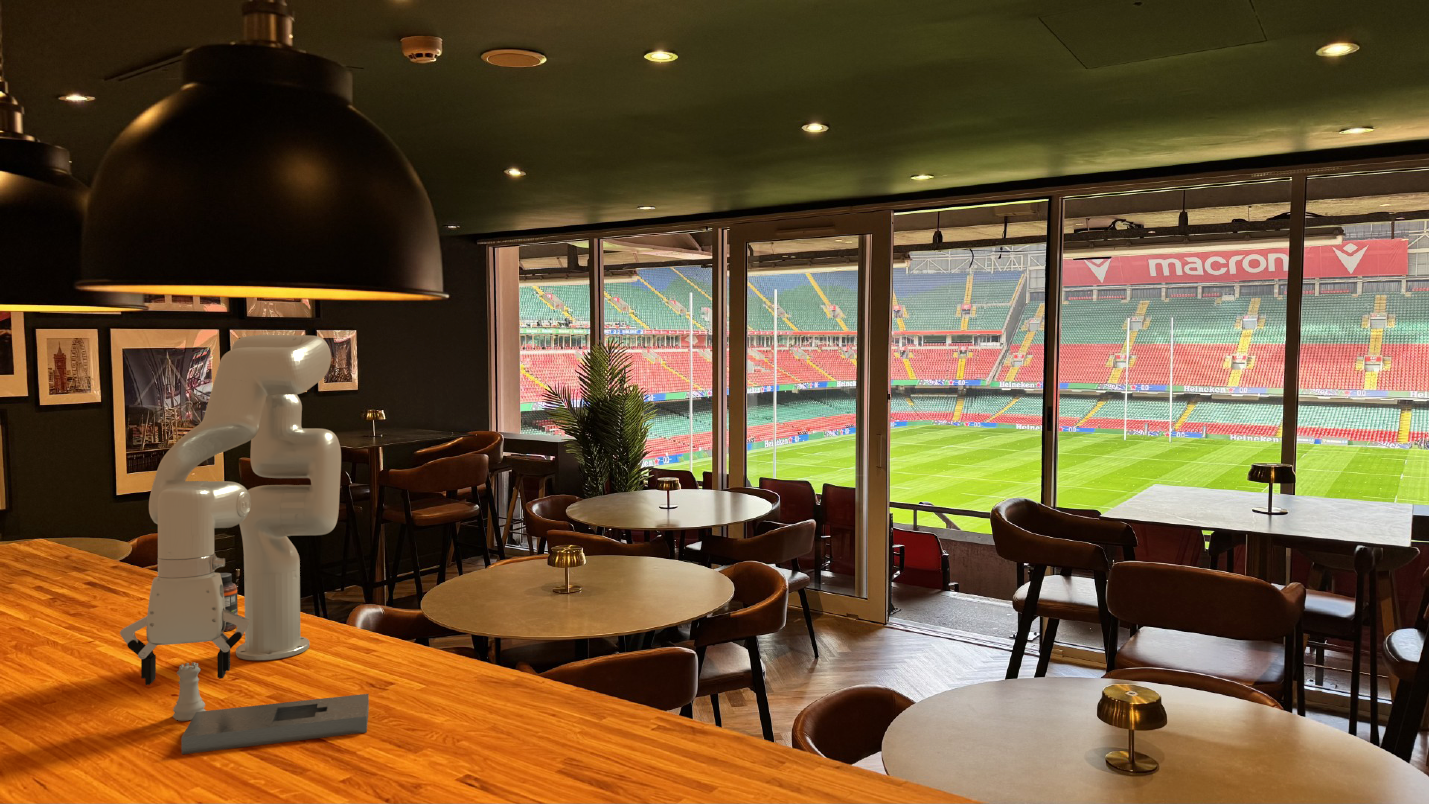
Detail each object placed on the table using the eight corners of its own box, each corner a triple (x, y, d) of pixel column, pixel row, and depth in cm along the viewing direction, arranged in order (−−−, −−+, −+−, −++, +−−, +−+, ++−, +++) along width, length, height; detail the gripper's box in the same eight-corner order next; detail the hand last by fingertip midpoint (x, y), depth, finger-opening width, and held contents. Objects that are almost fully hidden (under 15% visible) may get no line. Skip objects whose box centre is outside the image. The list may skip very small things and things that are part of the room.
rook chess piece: (212, 712, 142) (212, 662, 141) (189, 723, 137) (188, 671, 137) (189, 709, 143) (188, 659, 143) (165, 720, 138) (164, 668, 138)
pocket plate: (196, 727, 136) (196, 711, 135) (368, 708, 143) (368, 693, 143) (181, 754, 126) (181, 737, 126) (366, 732, 134) (366, 716, 134)
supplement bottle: (208, 626, 190) (208, 572, 189) (240, 624, 192) (239, 570, 191) (202, 634, 184) (201, 578, 184) (234, 631, 186) (233, 576, 185)
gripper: (252, 560, 145) (252, 667, 146) (128, 566, 140) (128, 678, 140) (245, 568, 138) (245, 680, 138) (113, 575, 133) (113, 692, 133)
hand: (186, 679), depth 139 cm, fingers open, 9 cm apart
